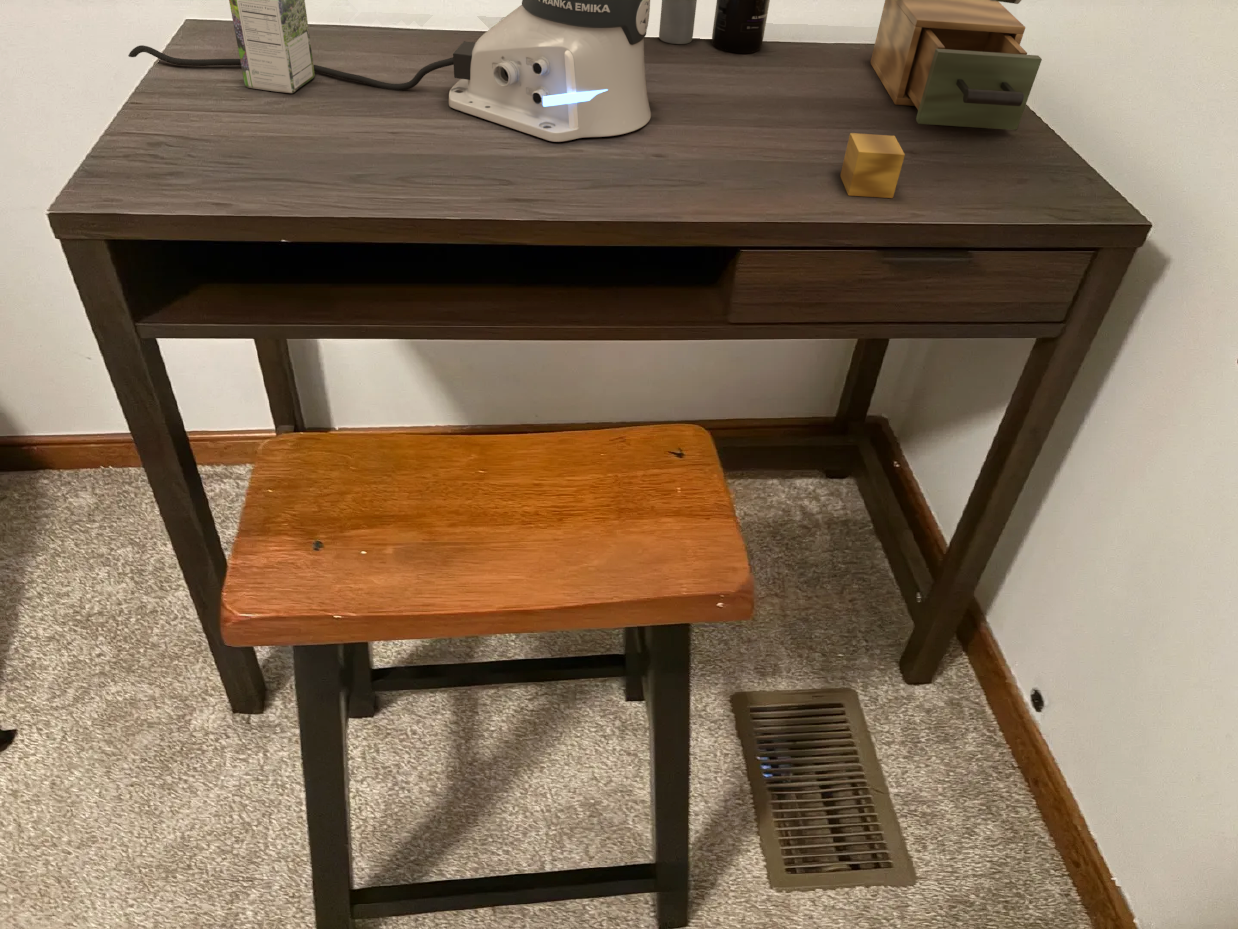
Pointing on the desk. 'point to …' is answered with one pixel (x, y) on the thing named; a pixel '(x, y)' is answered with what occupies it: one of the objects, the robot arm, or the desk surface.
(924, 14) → the cabinet
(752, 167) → the desk surface
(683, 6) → the planter
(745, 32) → the supplement bottle
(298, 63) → the syrup box
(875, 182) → the block
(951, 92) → the drawer
